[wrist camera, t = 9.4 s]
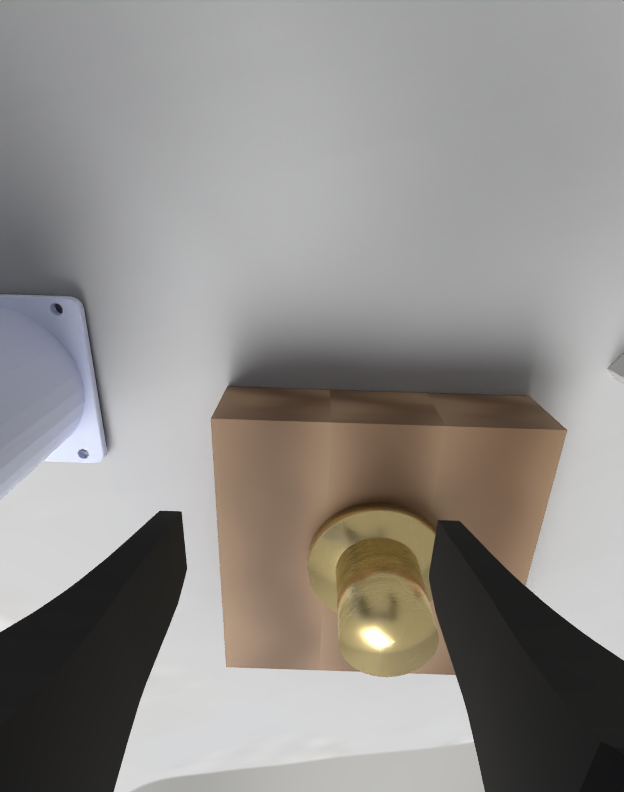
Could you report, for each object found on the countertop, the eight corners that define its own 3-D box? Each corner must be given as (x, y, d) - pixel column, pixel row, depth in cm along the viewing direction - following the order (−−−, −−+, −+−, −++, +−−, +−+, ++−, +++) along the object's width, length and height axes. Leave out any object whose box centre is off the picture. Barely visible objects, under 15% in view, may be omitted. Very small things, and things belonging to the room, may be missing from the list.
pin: (309, 561, 24) (305, 696, 18) (309, 464, 22) (305, 576, 15) (421, 563, 24) (461, 699, 18) (433, 465, 22) (484, 579, 15)
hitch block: (237, 610, 26) (226, 667, 23) (227, 386, 21) (211, 418, 18) (478, 619, 26) (500, 676, 23) (529, 396, 21) (567, 430, 18)
